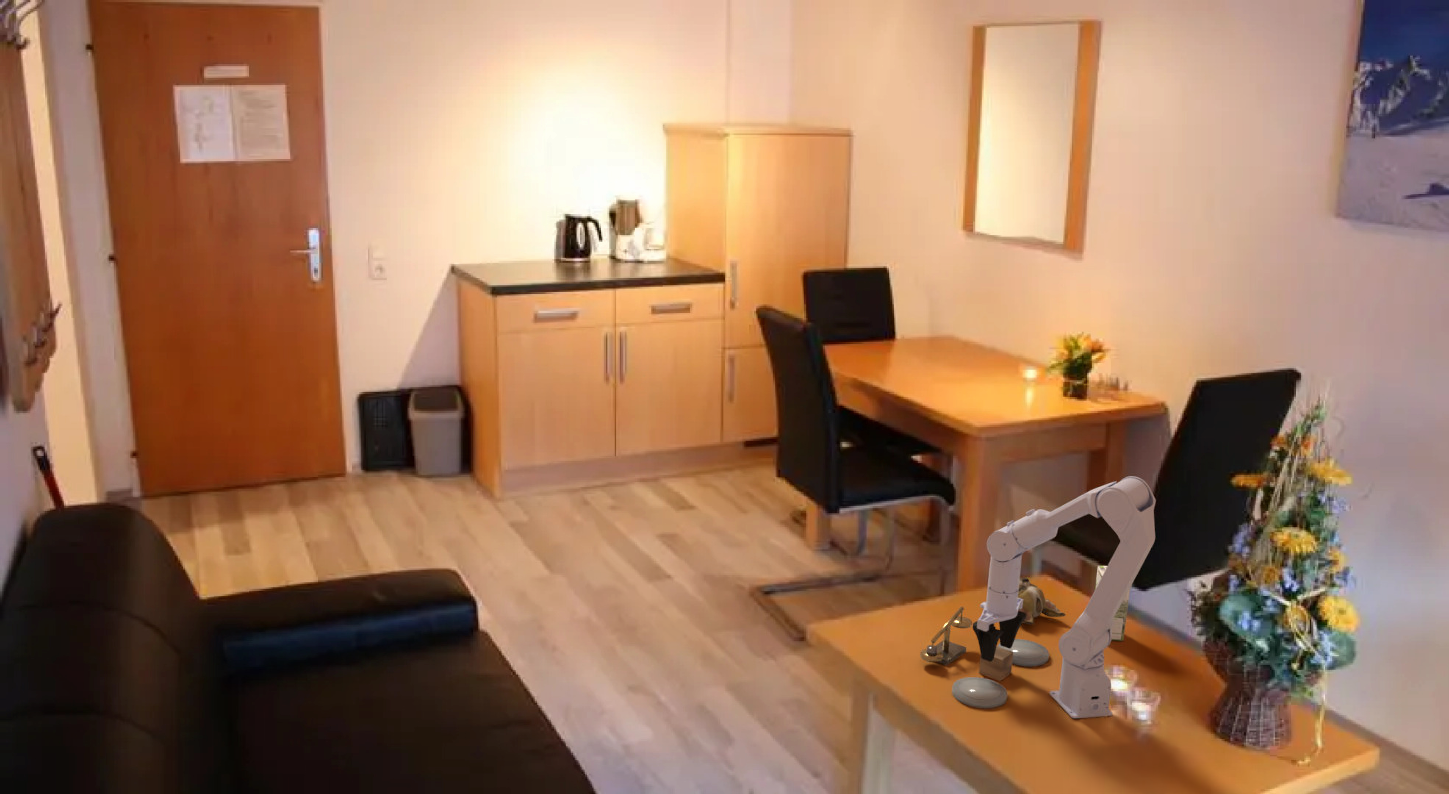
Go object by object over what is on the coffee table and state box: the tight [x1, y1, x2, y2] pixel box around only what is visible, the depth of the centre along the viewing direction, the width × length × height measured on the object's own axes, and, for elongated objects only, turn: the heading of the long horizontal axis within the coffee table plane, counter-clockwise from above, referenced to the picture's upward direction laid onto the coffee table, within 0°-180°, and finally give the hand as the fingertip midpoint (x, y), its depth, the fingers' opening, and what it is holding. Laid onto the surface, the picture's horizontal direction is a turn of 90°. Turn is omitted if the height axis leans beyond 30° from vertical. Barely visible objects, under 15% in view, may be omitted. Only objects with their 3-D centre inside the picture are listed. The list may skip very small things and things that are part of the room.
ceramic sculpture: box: [1018, 577, 1066, 626], centre depth 256 cm, size 11×9×15 cm
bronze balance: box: [919, 606, 973, 666], centre depth 236 cm, size 16×5×8 cm, turn 141°
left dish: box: [951, 676, 1008, 709], centre depth 221 cm, size 10×10×1 cm
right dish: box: [997, 638, 1050, 667], centre depth 238 cm, size 10×10×1 cm
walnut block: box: [978, 645, 1013, 682], centre depth 230 cm, size 4×4×4 cm
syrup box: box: [1094, 565, 1131, 642], centre depth 246 cm, size 6×6×14 cm
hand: (996, 653), depth 229 cm, fingers open, 7 cm apart
